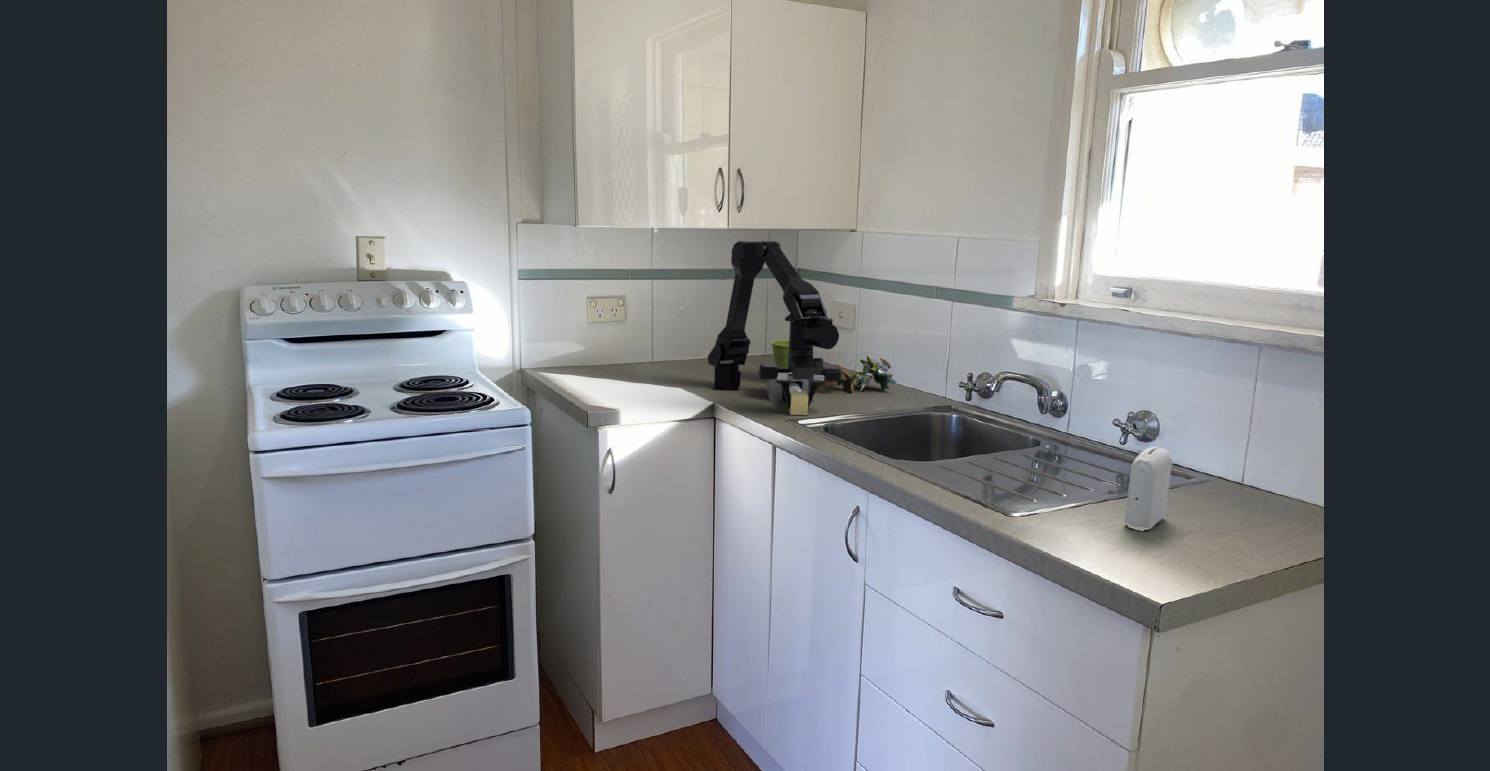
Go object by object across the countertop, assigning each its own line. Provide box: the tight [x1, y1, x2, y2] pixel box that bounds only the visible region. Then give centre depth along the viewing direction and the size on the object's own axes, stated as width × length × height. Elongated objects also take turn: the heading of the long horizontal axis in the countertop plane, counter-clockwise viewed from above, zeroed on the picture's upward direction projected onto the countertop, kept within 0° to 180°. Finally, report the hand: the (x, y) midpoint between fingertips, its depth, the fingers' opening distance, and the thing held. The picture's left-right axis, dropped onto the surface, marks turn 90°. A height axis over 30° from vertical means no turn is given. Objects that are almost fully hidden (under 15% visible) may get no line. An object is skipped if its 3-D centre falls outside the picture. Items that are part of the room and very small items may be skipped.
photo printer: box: [1124, 446, 1173, 528], centre depth 146 cm, size 10×4×12 cm, turn 140°
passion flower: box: [846, 355, 897, 393], centre depth 245 cm, size 11×11×12 cm
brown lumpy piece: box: [816, 363, 855, 394], centre depth 243 cm, size 12×10×8 cm
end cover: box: [782, 381, 809, 416], centre depth 222 cm, size 18×4×5 cm, turn 3°
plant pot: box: [769, 339, 789, 368], centre depth 250 cm, size 12×12×11 cm
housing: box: [766, 376, 815, 403], centre depth 234 cm, size 11×11×6 cm
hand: (798, 408), depth 216 cm, fingers closed on end cover, 4 cm apart
